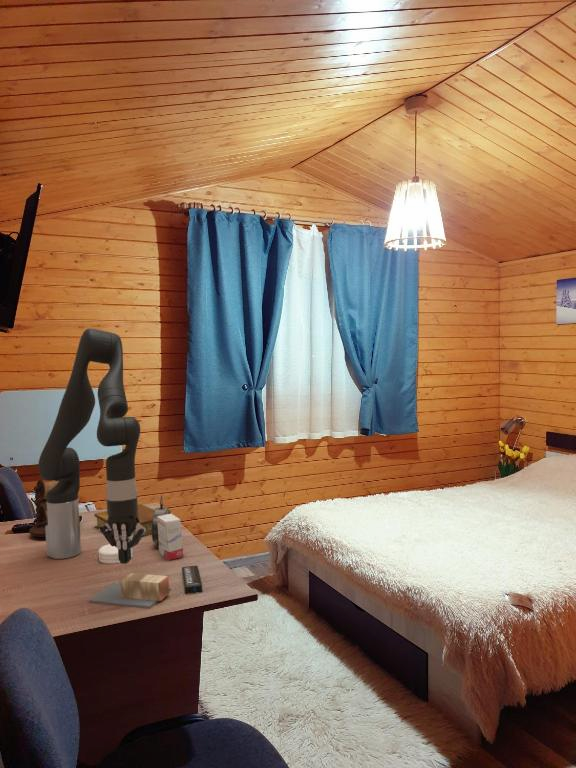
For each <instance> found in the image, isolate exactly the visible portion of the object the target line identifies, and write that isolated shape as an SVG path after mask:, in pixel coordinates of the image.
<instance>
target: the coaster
mask: <svg viewBox="0 0 576 768" xmlns="http://www.w3.org/2000/svg"><path fill="white" fill-rule="evenodd" d="M133 548H134V547H132V548H131V559H132V558H133V557H134V553H133V551H134V550H133ZM98 561H99V562H100V563H102V564H105V565H106V564H107V565H113V564H114V565H115V564H121V563H120V561H119V559H118V549H117V547H115V546H113V547H112V546H111V545H110V543H107V544H106V545H102V546H101V547H100V548H99V549H98Z"/></svg>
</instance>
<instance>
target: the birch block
mask: <svg viewBox="0 0 576 768" xmlns="http://www.w3.org/2000/svg"><path fill="white" fill-rule="evenodd" d="M120 584H121V597H124V598H135V599H145V600H156V601H158V602H161V601H163V600H164V599H165V598H166V597H167V596H169V594H170V591H169V588H170V583H169V575H158V574H144V573H134V572H131V573H130V572H129V573H128V574H127V575H125V576H124V577H122V578H121V579H120Z"/></svg>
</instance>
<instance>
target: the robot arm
mask: <svg viewBox="0 0 576 768" xmlns="http://www.w3.org/2000/svg"><path fill="white" fill-rule="evenodd" d="M123 349H124V348H123V342H122V339H121V337H120V335H118V334H117V333H113V332H111V331H105V330H101V329H96V328H87V329H85V330H84V331H83V332H82V333H81V337H80V339H79V342H78V347H77V351H76V353H75V354H76V355H75V358H74V362H73V366H72V370H71V373H70V377H69V380H68V383H67V386H66V387H65V388H66V389H65V391H64V394H63V395H62V399H61V403H60V405H59V407H58V412H57V415H56V418H55V421H54V422H53V427H52V429H51V431H50V434H49V436H48V438H47V441H46V442H45V445H44V447H43V449H42V451H41V453H40V455H39V459H38V463H37V464H38V465H37V467H38V474H39V476H40V478H41V480H44V481H49V482H53V481H55V480H58V479H59V482H58V483H57V485H56V486H55V487H54V488H52V489H51V490H50V491H48V492H47V495H46V499H47V515H48V525H46V527H45V530H46V540H45V542H46V557H50V558H52V559H55V560H56V559H57V560H60V559H68V558H69V559H70V558H73V557H76V556H78V555H80V554H81V552H82V543H81V541H82V540H81V527H80V525H81V524H80V522H81V521H80V508H79V506H80V505H79V491H80V489H81V488H80V485H81V476H80V475H81V474H80V473H81V465H80V463H81V462H80V459H79V458H80V457H79V453H77V450H75V449H74V448H72V447H68V446H69V444H70V443H71V442H72V441H74V439H75V438H76V437H77V436H78V435H79V434H80V433H81V431H83V430H84V429H85V427H86V426H87V425H88V424H89V421H90V420H91V417H92V414H93V412H94V408H95V407H96V396H95V393H94V390H93V387H92V384H91V382H90V380H89V375H88V367H89V364H90V363H91V362H92V363H96V364H97V363H98V364H103V365H108V366H109V370H108V372H107V373H106V374H105V376H103V378H102V379H101V381H100V382H99V384H98V387H97V399H98V406H99V420H98V424H97V428H96V439H97V441H98V443H99V444H100V445H101V446H103V447H118V446H125V447H124V449H123V450H122V451H121V452H118V453H116V454H111V455H110V456H108V457H107V458H106V459H105V470H106V471H105V474H106V475H105V476H106V485H105V486H106V487H105V494H106V495H105V496H106V497H105V499H106V511H107V514H108V516H109V517H108V519H107V523H106V524H105V525H104V526H102V527H100V530H99V531H100V532H101V534H102V535H103V536H104V538H105V539H106V541H107V542H108V544H110V545H111V546H112V547H113V546H115V547H117V549H118V559H119V561H120V563H119V564H120V565H121V564H122V565H126V564H128V563H129V562H130V561H131V560H132V558H131V548H132V547H133V548H134V547H136V546H137V545H138V544H139V542H140V541H141V540H142V539H143V538H144V537H143V535H144V534H145V533H146V531H147V527H146V526H145V527H143V526H142V525H141V524H140V523H139V519H138V517H137V513H138V504H139V503H138V487H137V486H138V485H137V481H136V466H135V465H136V452H137V447H138V443H139V440H140V435H141V425H140V422H139V420H138V419H137V418H135V417H133V416H126V415H127V413H128V412H129V411H128V410H129V406H128V400H127V396H126V391H125V385H124V351H123ZM135 529H136V532H135V533H136V535H135V536H134V538H133V532H134V531H135ZM132 538H133V539H132ZM133 548H132V549H133Z"/></svg>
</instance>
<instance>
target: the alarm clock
mask: <svg viewBox="0 0 576 768" xmlns="http://www.w3.org/2000/svg"><path fill="white" fill-rule="evenodd" d="M162 500H163V495H162V494H161V495H160V497H159V502H160V503H159V506H160V507H155V509H153V510H154V514H153V519H152V535H151V538H152V542H153V543H154V544H155V543H156V550H159V538H158V522H157V516H161V515H167V514H172V512H171V509H169V508H168V507H163V505H164V503H162Z"/></svg>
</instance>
